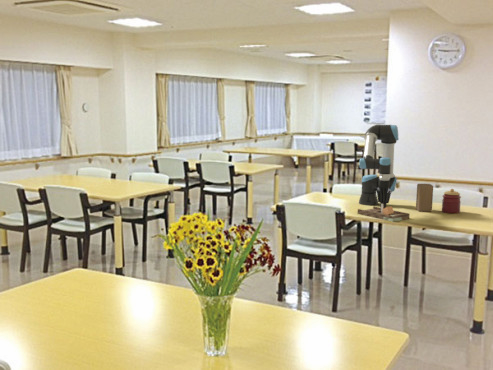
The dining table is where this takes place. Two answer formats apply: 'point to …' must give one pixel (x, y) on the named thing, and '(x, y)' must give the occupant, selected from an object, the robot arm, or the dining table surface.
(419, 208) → the block
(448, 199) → the canister
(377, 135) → the robot arm
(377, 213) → the trap tray
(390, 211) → the terracotta cube
